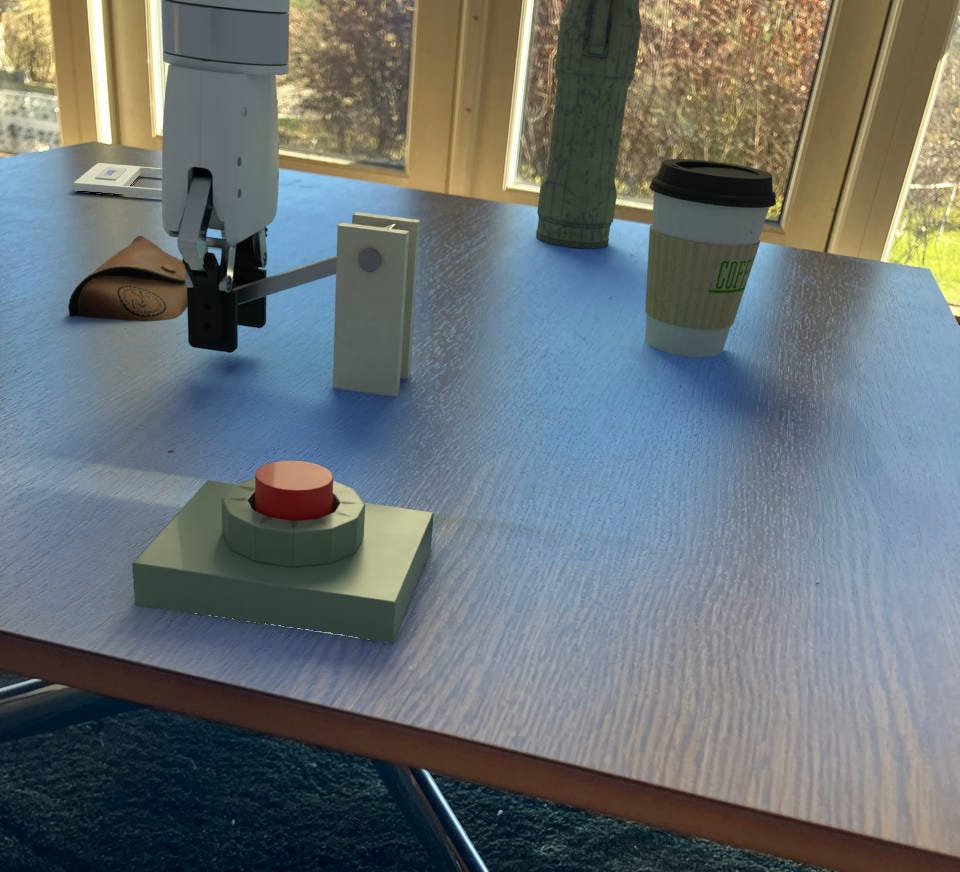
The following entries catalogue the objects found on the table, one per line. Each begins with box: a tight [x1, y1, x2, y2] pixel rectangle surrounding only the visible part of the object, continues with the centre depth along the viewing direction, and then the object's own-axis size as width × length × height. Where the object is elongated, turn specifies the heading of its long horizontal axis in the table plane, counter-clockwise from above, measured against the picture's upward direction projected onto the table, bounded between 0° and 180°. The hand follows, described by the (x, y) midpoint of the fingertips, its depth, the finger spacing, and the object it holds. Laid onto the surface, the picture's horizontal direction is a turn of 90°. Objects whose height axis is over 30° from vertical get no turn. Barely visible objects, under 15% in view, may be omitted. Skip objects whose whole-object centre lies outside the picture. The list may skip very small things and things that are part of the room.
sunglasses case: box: [67, 235, 187, 322], centre depth 92 cm, size 18×7×7 cm
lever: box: [231, 224, 398, 306], centre depth 75 cm, size 13×6×2 cm, turn 82°
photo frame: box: [73, 162, 162, 199], centre depth 137 cm, size 15×1×18 cm
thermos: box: [535, 0, 642, 250], centre depth 125 cm, size 9×12×35 cm
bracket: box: [332, 211, 421, 398], centre depth 76 cm, size 10×8×12 cm
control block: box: [131, 477, 435, 645], centre depth 54 cm, size 12×10×4 cm
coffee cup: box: [644, 158, 777, 358], centre depth 91 cm, size 10×10×15 cm
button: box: [254, 460, 334, 521], centre depth 53 cm, size 4×4×2 cm
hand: (228, 333), depth 78 cm, fingers closed on lever, 5 cm apart
